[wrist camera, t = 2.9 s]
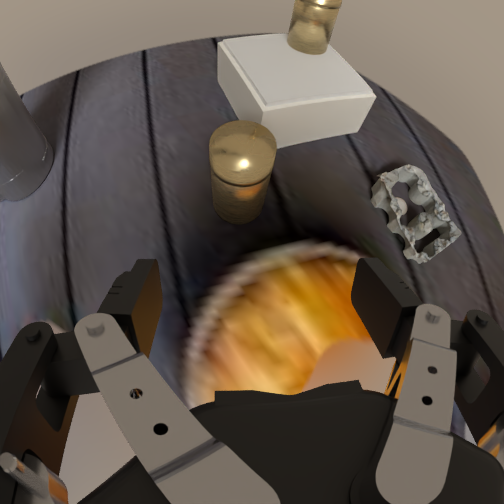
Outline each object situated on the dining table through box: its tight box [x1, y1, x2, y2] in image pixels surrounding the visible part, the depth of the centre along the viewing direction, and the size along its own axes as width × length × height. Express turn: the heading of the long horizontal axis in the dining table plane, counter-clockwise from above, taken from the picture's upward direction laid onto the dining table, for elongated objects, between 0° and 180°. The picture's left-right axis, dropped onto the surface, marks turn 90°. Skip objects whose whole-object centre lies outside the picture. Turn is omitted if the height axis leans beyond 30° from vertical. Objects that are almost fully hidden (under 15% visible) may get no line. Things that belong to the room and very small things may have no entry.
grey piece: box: [371, 165, 461, 264], centre depth 29 cm, size 11×8×4 cm
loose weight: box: [209, 120, 277, 224], centre depth 25 cm, size 5×5×9 cm
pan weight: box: [287, 0, 342, 55], centre depth 26 cm, size 5×5×9 cm
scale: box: [218, 33, 376, 149], centre depth 32 cm, size 14×15×7 cm
